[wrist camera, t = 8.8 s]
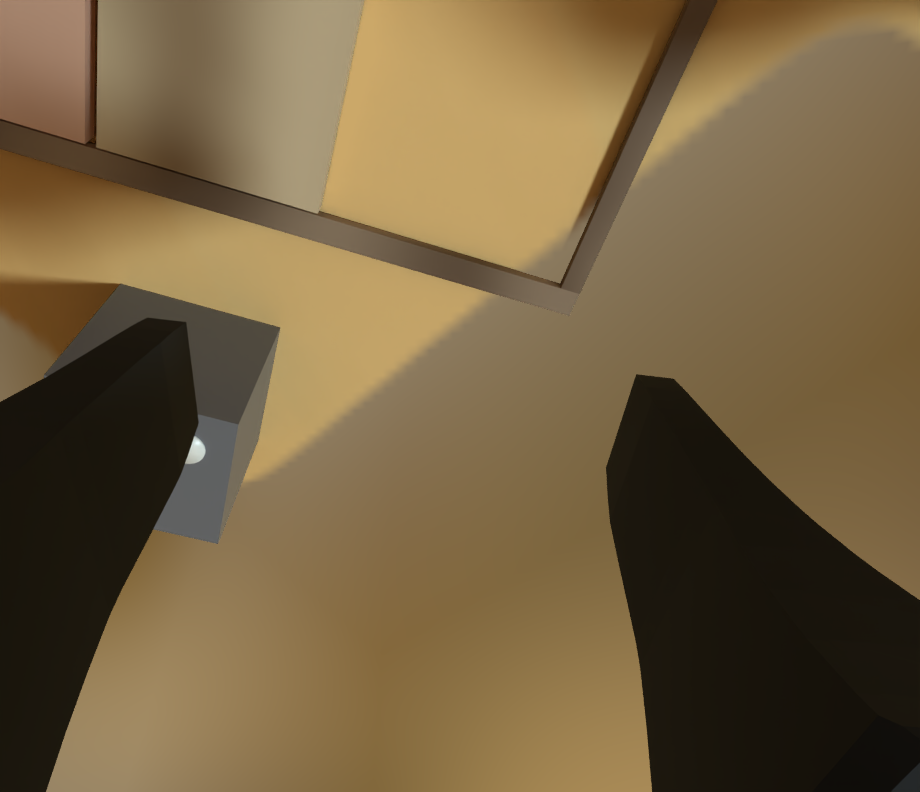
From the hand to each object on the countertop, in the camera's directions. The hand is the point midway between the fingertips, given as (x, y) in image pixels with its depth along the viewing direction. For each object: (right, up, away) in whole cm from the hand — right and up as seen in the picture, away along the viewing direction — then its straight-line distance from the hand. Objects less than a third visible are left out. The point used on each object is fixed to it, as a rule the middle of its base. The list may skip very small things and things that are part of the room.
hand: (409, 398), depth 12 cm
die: (-8, +1, +13) cm, 15 cm away
